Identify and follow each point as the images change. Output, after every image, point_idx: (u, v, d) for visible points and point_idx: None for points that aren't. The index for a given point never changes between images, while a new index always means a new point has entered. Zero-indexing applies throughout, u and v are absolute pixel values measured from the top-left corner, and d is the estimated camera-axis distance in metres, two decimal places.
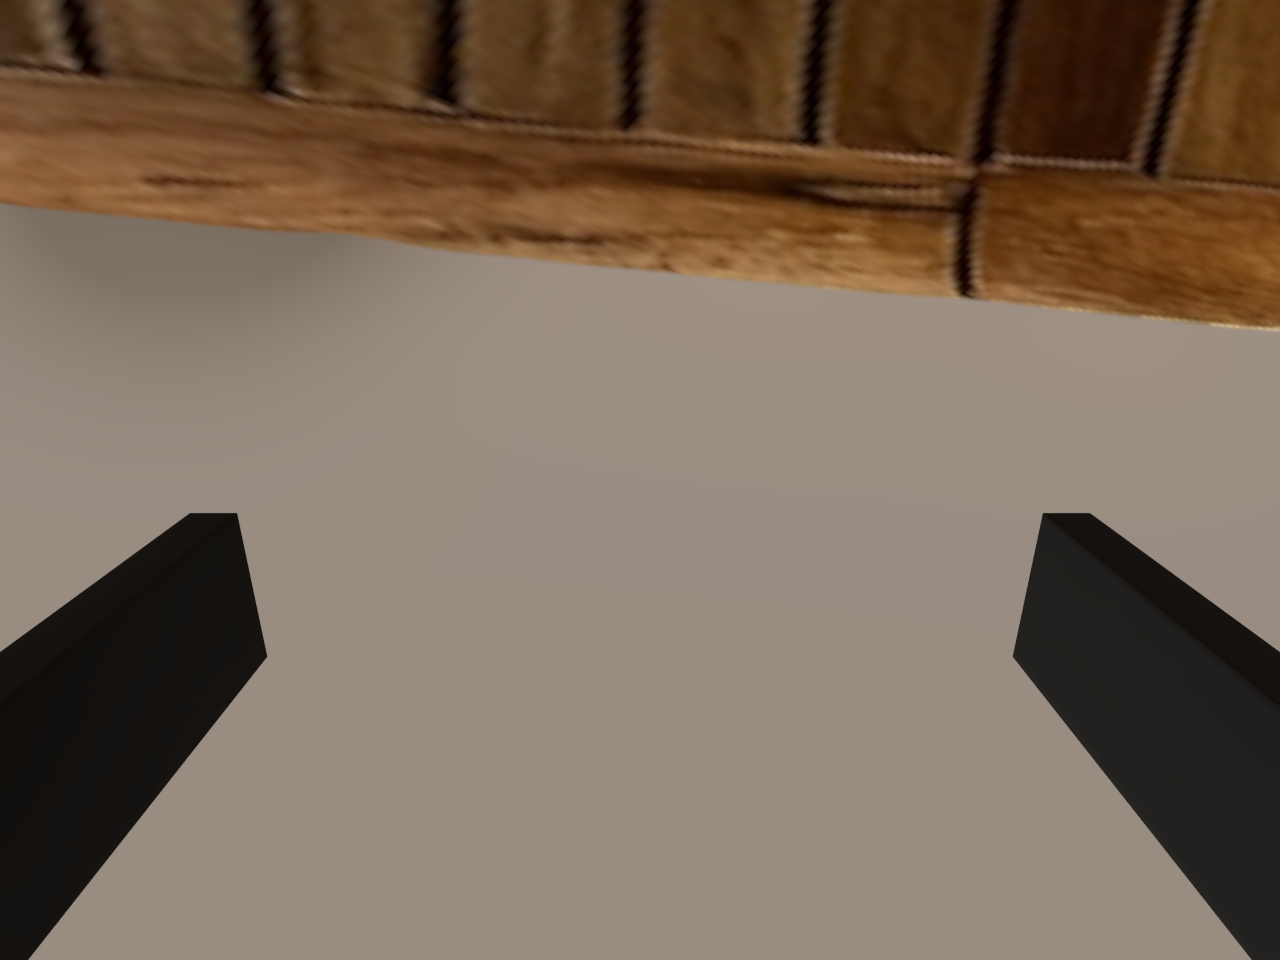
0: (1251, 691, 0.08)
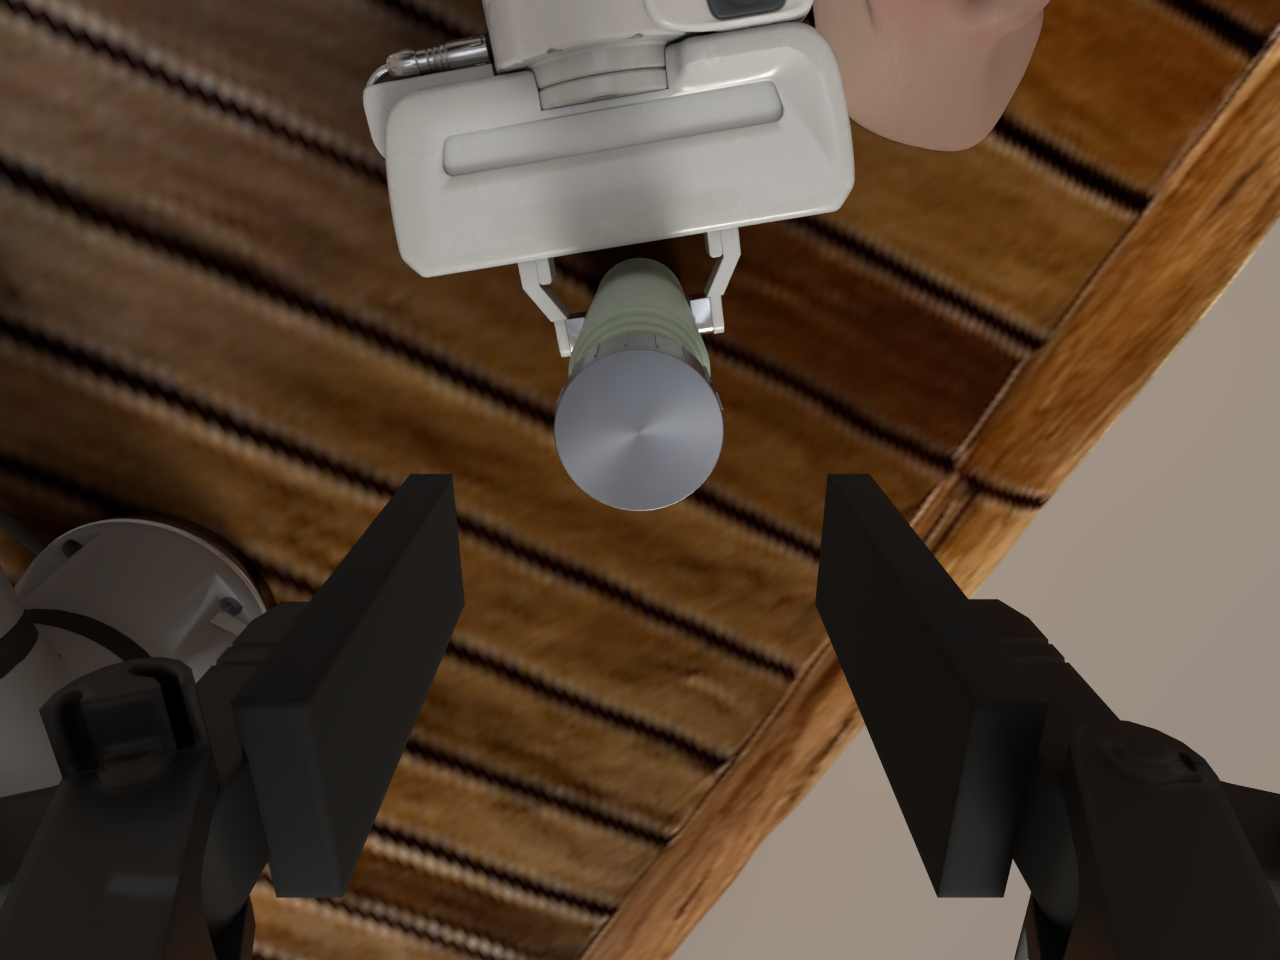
0: (909, 605, 0.10)
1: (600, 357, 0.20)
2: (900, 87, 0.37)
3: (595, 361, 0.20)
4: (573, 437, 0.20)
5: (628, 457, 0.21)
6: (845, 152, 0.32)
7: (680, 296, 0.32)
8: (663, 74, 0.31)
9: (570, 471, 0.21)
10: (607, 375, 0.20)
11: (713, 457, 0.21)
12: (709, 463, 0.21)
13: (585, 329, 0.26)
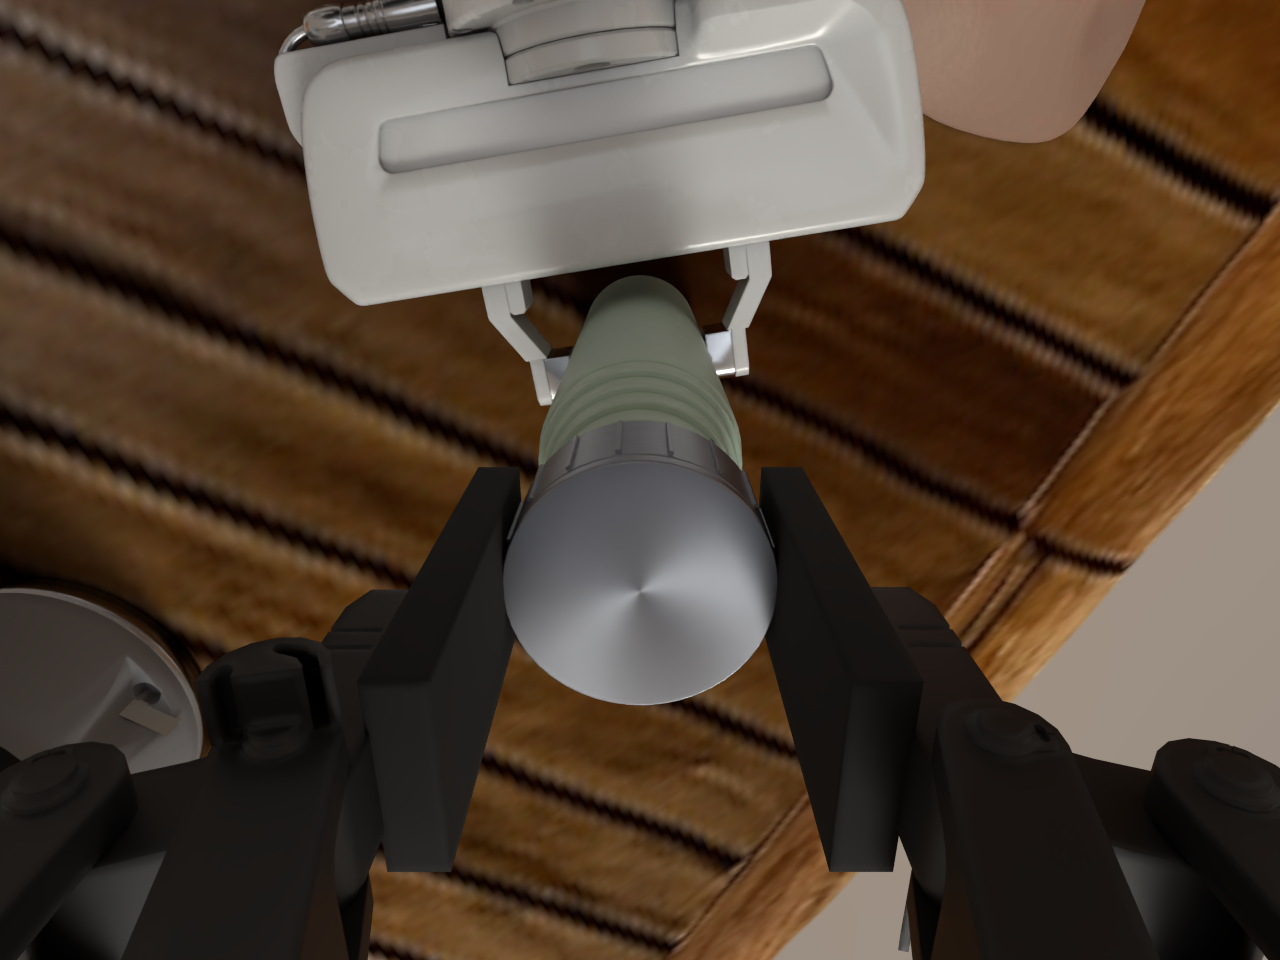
0: (813, 591, 0.10)
1: (576, 473, 0.12)
2: (971, 61, 0.29)
3: (567, 480, 0.12)
4: (533, 597, 0.13)
5: (622, 627, 0.13)
6: (914, 141, 0.24)
7: (694, 333, 0.24)
8: (672, 36, 0.23)
9: (529, 648, 0.13)
10: (587, 502, 0.12)
11: (761, 627, 0.13)
12: (754, 636, 0.13)
13: (562, 393, 0.18)
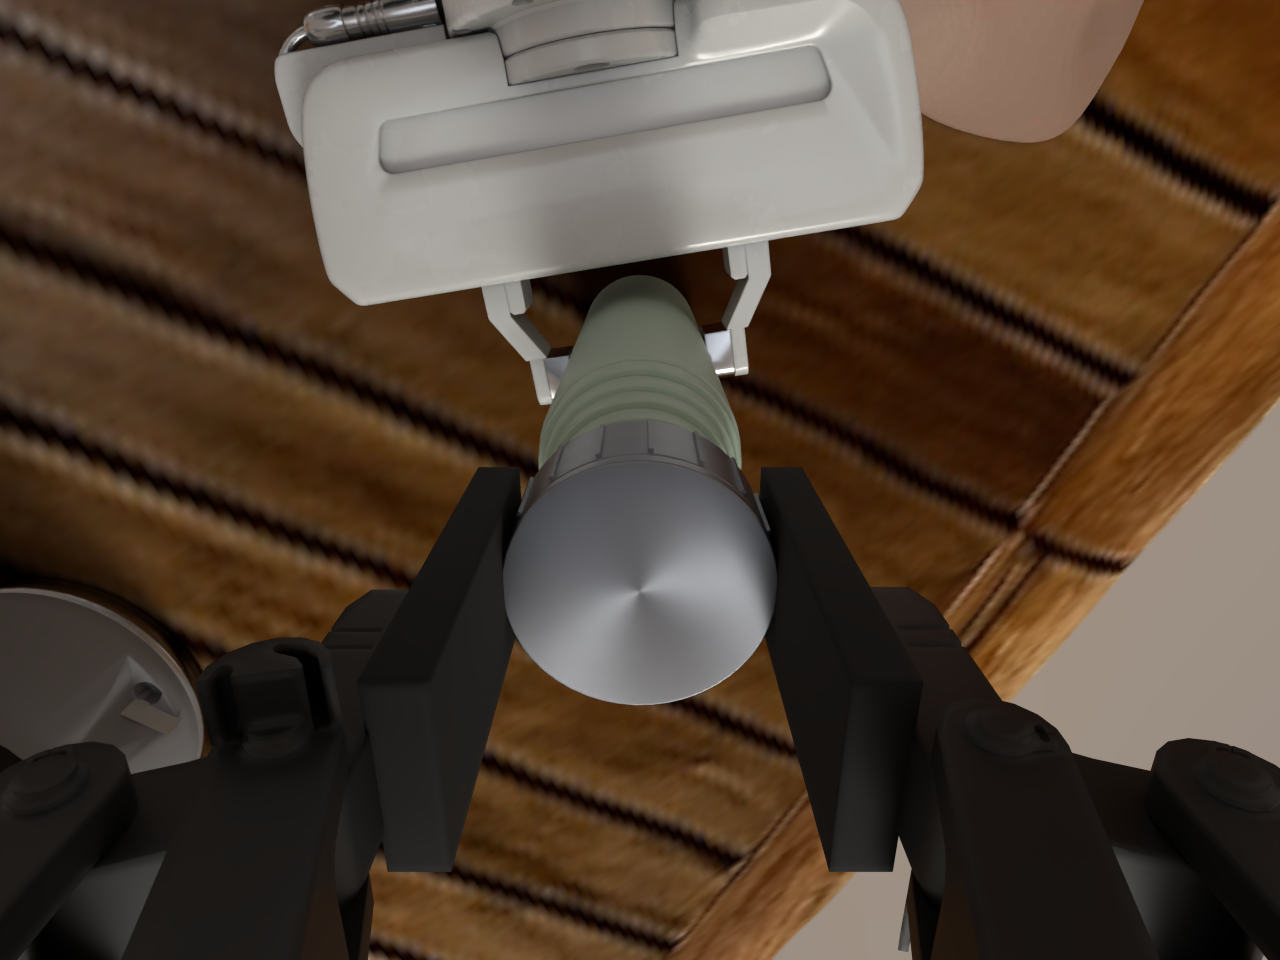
0: (812, 591, 0.10)
1: (522, 645, 0.13)
2: (970, 61, 0.29)
3: (528, 654, 0.13)
4: (651, 680, 0.13)
5: (681, 604, 0.13)
6: (913, 141, 0.24)
7: (693, 332, 0.25)
8: (671, 36, 0.23)
9: (707, 684, 0.13)
10: (548, 637, 0.13)
11: (678, 474, 0.12)
12: (688, 481, 0.12)
13: (562, 392, 0.18)
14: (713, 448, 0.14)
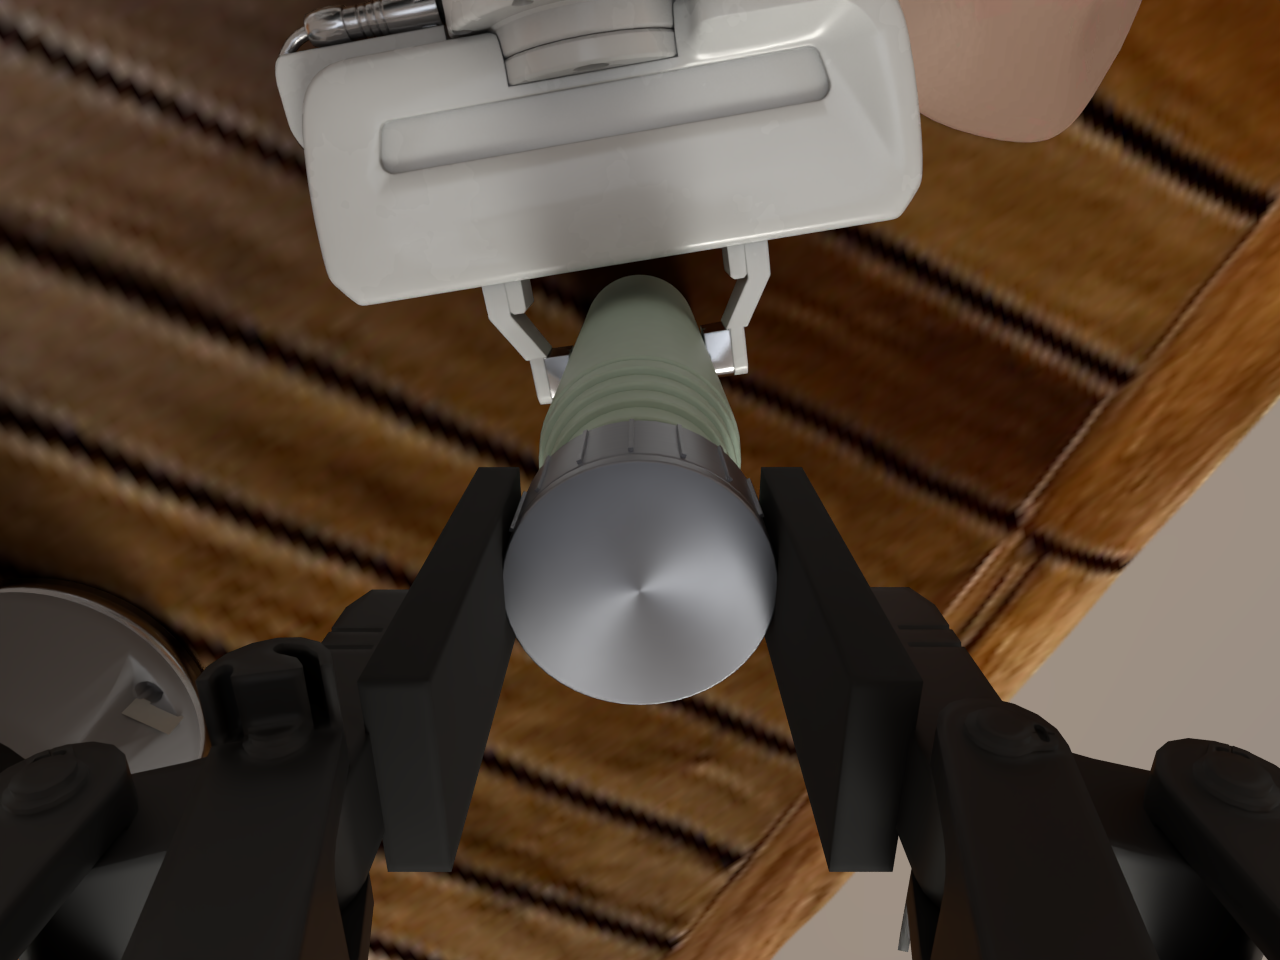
0: (812, 591, 0.10)
1: (707, 686, 0.13)
2: (968, 61, 0.29)
3: (714, 684, 0.13)
4: (746, 576, 0.12)
5: (653, 553, 0.12)
6: (912, 141, 0.24)
7: (693, 331, 0.25)
8: (671, 37, 0.23)
9: (751, 521, 0.12)
10: (695, 667, 0.13)
11: (511, 564, 0.12)
12: (516, 555, 0.12)
13: (562, 391, 0.18)
14: (533, 481, 0.14)
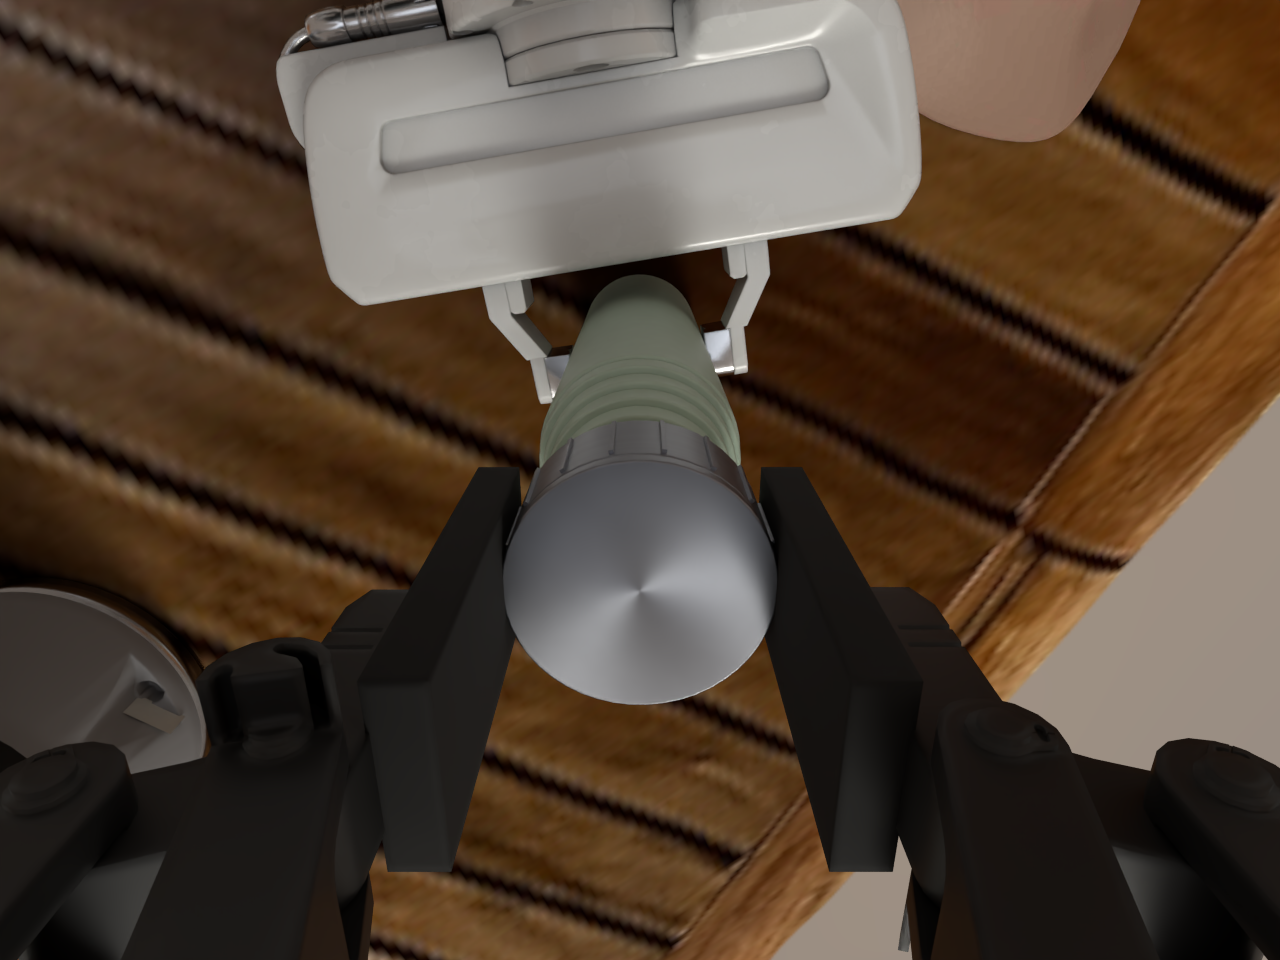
0: (813, 592, 0.10)
1: (758, 518, 0.12)
2: (968, 61, 0.29)
3: (752, 514, 0.12)
4: (617, 493, 0.12)
5: (596, 580, 0.12)
6: (911, 141, 0.24)
7: (693, 331, 0.25)
8: (670, 37, 0.23)
9: (554, 495, 0.12)
10: (731, 534, 0.12)
11: (617, 696, 0.13)
12: (607, 693, 0.13)
13: (563, 390, 0.18)
14: None
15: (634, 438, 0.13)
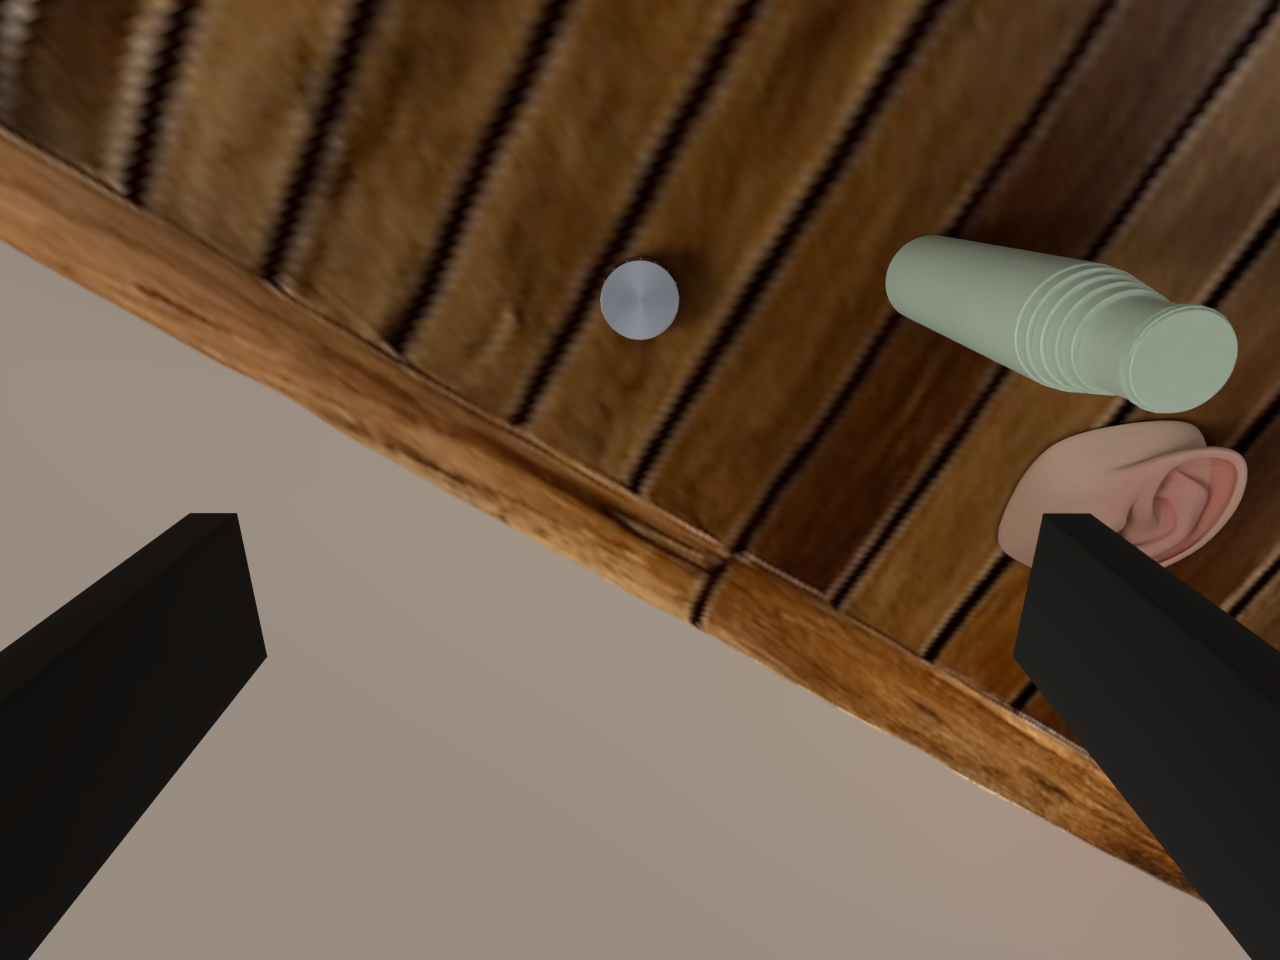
0: (1251, 691, 0.08)
1: (616, 268, 0.44)
2: (1061, 491, 0.49)
3: (614, 270, 0.44)
4: (610, 308, 0.44)
5: (637, 313, 0.44)
6: None
7: None
8: None
9: (612, 325, 0.45)
10: (620, 276, 0.44)
11: (676, 306, 0.44)
12: (674, 309, 0.44)
13: None
14: None
15: None
